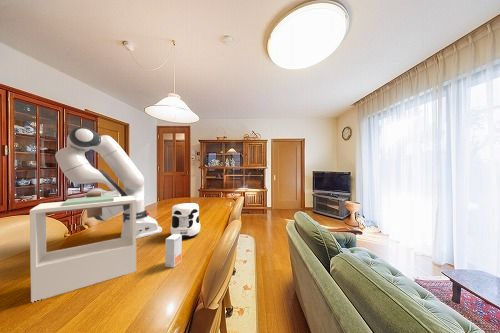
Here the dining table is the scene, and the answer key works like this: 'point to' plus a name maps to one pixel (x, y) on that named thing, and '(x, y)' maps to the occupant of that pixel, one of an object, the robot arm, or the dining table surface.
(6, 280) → the dining table surface
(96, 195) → the walnut block
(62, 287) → the box
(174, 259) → the skincare box
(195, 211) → the milk container
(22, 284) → the dining table surface
